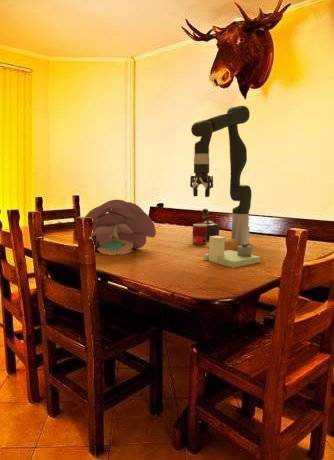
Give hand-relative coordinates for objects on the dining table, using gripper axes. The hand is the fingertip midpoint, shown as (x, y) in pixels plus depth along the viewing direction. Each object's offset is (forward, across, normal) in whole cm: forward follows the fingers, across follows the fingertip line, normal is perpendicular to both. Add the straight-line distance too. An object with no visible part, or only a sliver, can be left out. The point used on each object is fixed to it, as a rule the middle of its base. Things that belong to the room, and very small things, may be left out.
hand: (201, 196), depth 177 cm
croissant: (+28, -7, -12) cm, 32 cm away
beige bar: (+28, -20, +9) cm, 35 cm away
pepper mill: (+28, +28, -30) cm, 50 cm away
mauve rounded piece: (+28, +25, +35) cm, 51 cm away
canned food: (+28, +16, -14) cm, 35 cm away
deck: (+28, -24, +3) cm, 37 cm away
